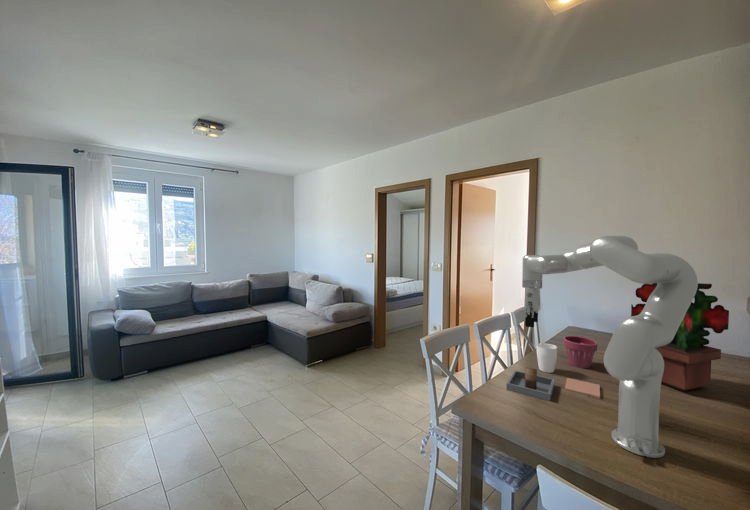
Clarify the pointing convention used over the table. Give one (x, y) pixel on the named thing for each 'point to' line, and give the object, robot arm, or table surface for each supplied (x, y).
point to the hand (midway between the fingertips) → (531, 324)
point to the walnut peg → (531, 378)
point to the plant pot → (580, 350)
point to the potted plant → (689, 340)
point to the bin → (518, 385)
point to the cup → (546, 357)
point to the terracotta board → (583, 387)
